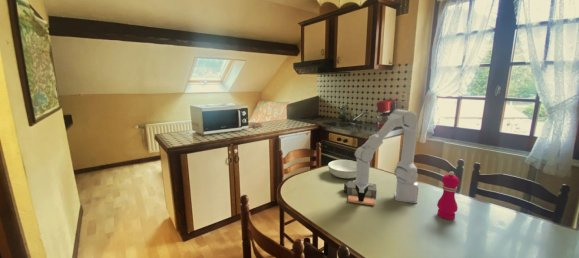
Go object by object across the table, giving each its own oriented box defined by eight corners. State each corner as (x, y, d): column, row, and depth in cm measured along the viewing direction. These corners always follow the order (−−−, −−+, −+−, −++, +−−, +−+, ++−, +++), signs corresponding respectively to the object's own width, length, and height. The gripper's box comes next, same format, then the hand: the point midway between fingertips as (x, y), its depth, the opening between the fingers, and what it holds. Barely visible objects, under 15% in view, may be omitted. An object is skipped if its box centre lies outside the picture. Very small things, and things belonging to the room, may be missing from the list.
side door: (374, 198, 117) (374, 203, 110) (373, 199, 117) (374, 205, 110) (348, 194, 120) (347, 200, 113) (348, 196, 120) (347, 201, 114)
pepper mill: (453, 213, 105) (459, 169, 101) (458, 221, 98) (465, 175, 94) (434, 210, 107) (439, 167, 103) (438, 218, 100) (444, 173, 97)
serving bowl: (327, 168, 159) (327, 159, 158) (359, 170, 156) (360, 160, 155) (328, 181, 139) (328, 170, 138) (365, 183, 136) (366, 171, 135)
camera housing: (375, 192, 125) (375, 183, 124) (375, 199, 117) (376, 189, 116) (344, 188, 129) (345, 179, 129) (343, 194, 122) (343, 185, 121)
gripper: (354, 167, 118) (353, 192, 121) (352, 178, 105) (351, 206, 107) (369, 168, 116) (367, 194, 119) (369, 179, 103) (367, 209, 105)
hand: (361, 200), depth 113 cm, fingers closed
